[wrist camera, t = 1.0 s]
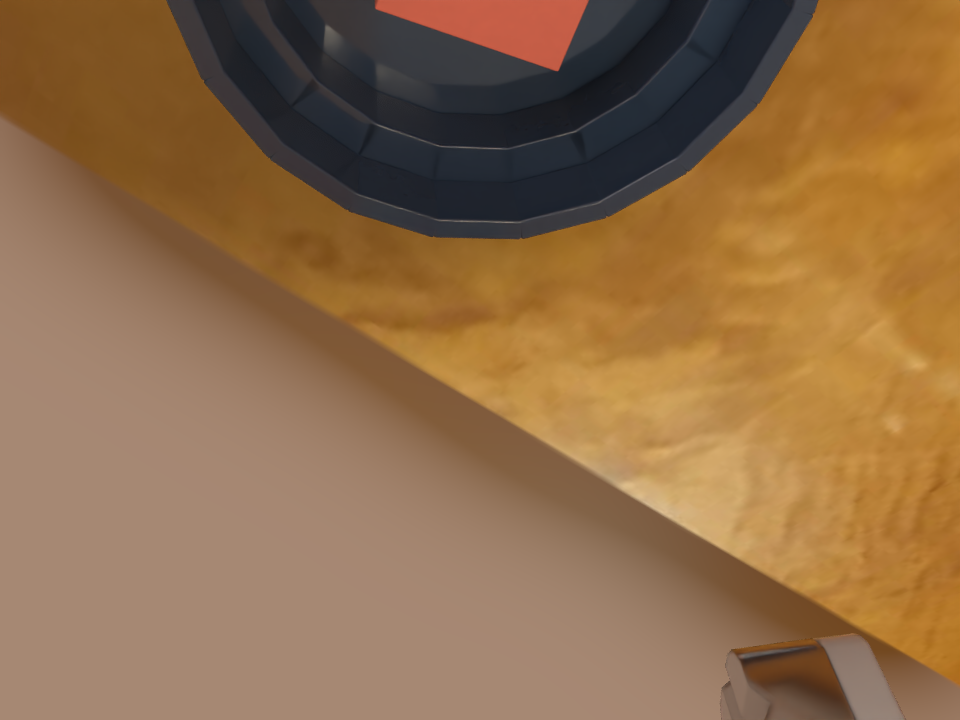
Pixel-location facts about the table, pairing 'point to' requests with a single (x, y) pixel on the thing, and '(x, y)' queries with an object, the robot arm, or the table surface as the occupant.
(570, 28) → the toy block
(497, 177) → the toy bowl
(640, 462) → the table surface
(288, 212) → the table surface
